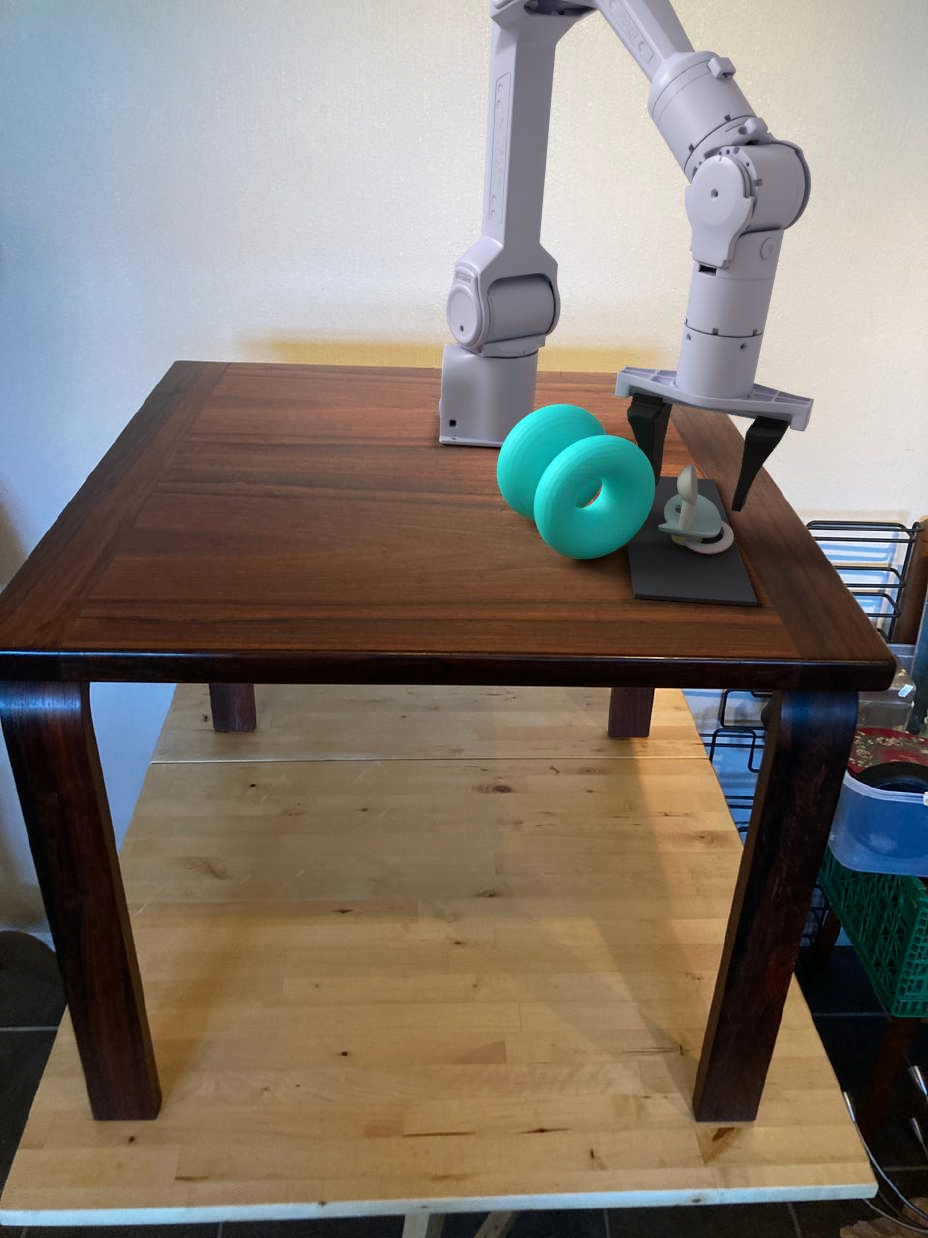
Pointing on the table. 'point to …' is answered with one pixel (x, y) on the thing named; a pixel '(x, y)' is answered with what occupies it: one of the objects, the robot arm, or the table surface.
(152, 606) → the table surface
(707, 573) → the placemat
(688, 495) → the pacifier
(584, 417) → the donuts
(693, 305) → the robot arm
